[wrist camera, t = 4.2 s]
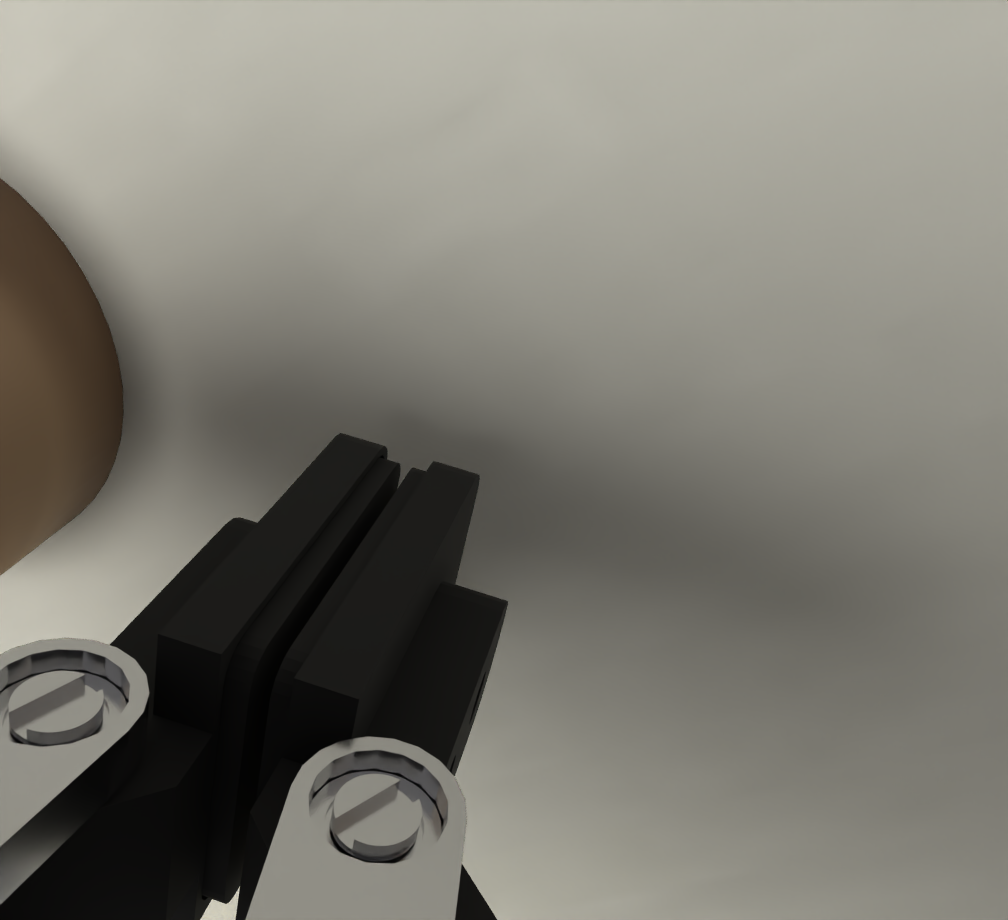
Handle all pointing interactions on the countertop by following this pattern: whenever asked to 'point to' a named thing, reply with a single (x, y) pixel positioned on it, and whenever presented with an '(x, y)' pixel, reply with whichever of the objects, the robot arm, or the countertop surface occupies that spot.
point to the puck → (50, 384)
